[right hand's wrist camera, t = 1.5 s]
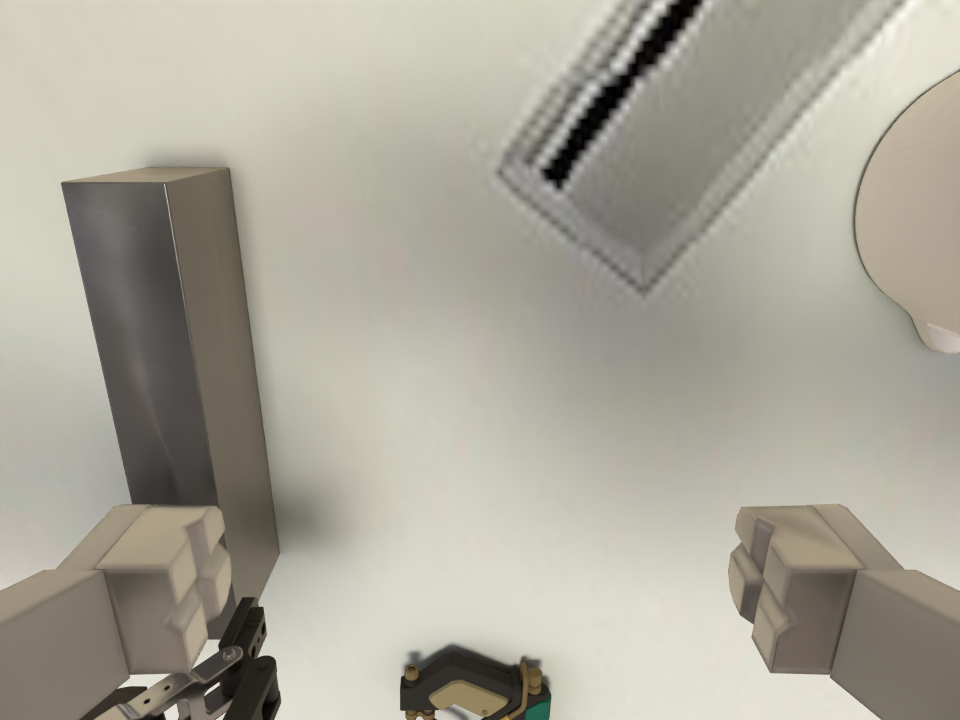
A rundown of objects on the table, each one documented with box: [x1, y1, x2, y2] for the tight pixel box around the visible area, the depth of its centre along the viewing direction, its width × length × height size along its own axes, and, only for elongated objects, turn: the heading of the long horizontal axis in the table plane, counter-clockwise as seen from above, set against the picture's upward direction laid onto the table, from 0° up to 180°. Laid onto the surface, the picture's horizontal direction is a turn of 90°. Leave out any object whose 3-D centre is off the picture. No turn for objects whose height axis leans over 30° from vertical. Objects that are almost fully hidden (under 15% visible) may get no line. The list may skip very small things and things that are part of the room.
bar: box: [61, 168, 279, 639], centre depth 38 cm, size 27×5×8 cm, turn 0°
